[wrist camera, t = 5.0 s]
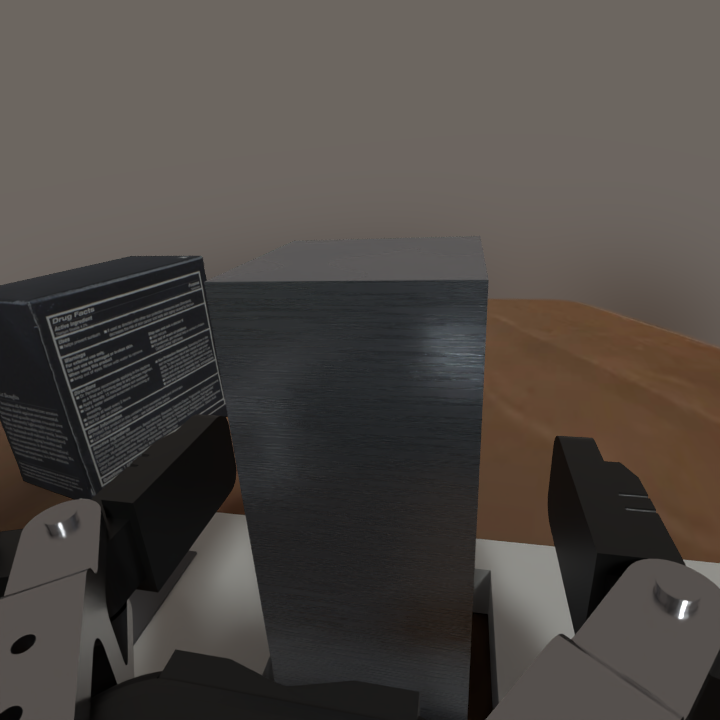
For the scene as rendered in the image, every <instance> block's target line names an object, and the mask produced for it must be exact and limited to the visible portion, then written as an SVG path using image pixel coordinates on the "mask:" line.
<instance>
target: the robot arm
mask: <svg viewBox="0 0 720 720" xmlns="http://www.w3.org/2000/svg"><path fill="white" fill-rule="evenodd" d="M235 480H236V463H235V457H234V452H233V446H232V440H231V435H230V429H229V424H228V421H227V419H226V418H225V417H224V416H217V415H200V414H196V415H193V416H192V417H190V418H189V419H188V420H187V421H186V422H185V423H184V424H183V425H182V426H181V427H180V428H179V429H177V430H176V431H175V432H173V433H171V434H169V435H167V436H165V437H163V438H161V439H160V440H158V441H156V442H154V443H153V444H152V445H151V446H150V447H149V448H148V449H147V450H145V451H144V452H143V453H142V455H141V457H140V456H139V457H138V458H136V459H135V460H134V461H133V462H132V463H131V464H130V467H126V468H125V469H124V470H123V471H122V472H121V473H120V474H119V475H117V476H116V477H115V478H114V479H113V480H112V481H111V482H110V483H108V484H107V485H106V486H105V487H104V488H103V489H102V490H101V491H99V492H98V493H97V494H96V495H95V496H94V497H93V498H92V499H90V500H89V499H77V500H71V501H67V502H63V503H60V504H57V505H55V506H53V507H50V508H48V509H46V510H45V511H43V512H41V513H40V514H38V515H37V516H35V517H34V518H33V519H32V520H31V521H29V523H28V524H27V525H26V526H25V527H24V529H18V530H10V531H3V532H0V720H427V719H425V718H423V717H421V716H420V692H418V691H413V690H407V689H401V688H395V687H390V686H384V685H378V684H372V683H366V682H361V681H355V680H353V681H342V682H331V683H320V684H309V685H298V686H284V685H281V684H278V683H276V682H274V681H272V680H270V679H269V678H267V677H265V676H263V675H261V674H259V673H257V672H255V671H253V670H251V669H249V668H247V667H245V666H243V665H241V664H239V663H237V662H236V661H234V660H232V659H228V658H223V657H217V656H211V655H205V654H199V653H194V652H188V651H182V650H176V649H175V651H174V653H173V654H172V656H171V658H170V659H169V661H168V663H167V664H166V666H165V668H164V669H163V671H158V672H154V673H149V674H145V675H141V676H138V677H135V678H134V650H133V618H132V605H131V602H130V599H129V598H130V596H131V595H132V594H133V592H134V591H135V590H136V589H137V590H144V591H151V592H157V593H158V592H159V591H160V590H161V588H162V587H163V585H164V584H165V583H166V581H167V580H168V578H169V577H170V576H171V574H172V573H173V572H174V570H175V569H176V567H177V566H178V565H179V563H180V562H181V560H182V559H183V558H184V556H185V555H186V553H187V552H188V551H189V549H190V548H191V547H192V545H193V544H194V542H195V541H196V540H197V538H198V537H199V535H200V534H201V533H202V531H203V530H204V528H205V527H206V526H207V524H208V523H209V522H210V520H211V519H212V517H213V516H214V515H215V513H216V512H217V510H218V509H219V508H220V506H221V505H222V504H223V502H224V501H225V499H226V498H227V497H228V495H229V494H230V492H231V491H232V489H233V487H234V484H235ZM548 516H549V523H550V527H551V532H552V536H553V541H554V545H555V549H556V554H557V558H558V563H559V567H560V571H561V576H562V580H563V585H564V589H565V594H566V598H567V602H568V607H569V611H570V616H571V620H572V625H573V629H574V633H575V636H574V637H573V638H572V639H570V638H568V637H567V636H565V635H564V634H558V635H557V636H555V637H554V638H553V639H552V640H551V641H550V642H549V643H548V644H547V645H546V647H545V648H544V649H543V650H542V651H541V653H540V654H539V655H538V656H537V658H536V659H535V660H534V661H533V662H532V664H531V665H530V666H529V667H528V668H527V670H526V671H525V672H524V673H523V675H522V676H521V677H520V678H519V679H518V681H517V682H516V683H515V684H514V686H513V687H512V688H511V689H510V690H509V692H508V693H507V694H506V695H505V696H504V698H503V699H502V700H501V701H500V703H499V704H498V705H497V706H496V707H495V709H494V710H493V711H492V712H491V714H490V715H489V716H488V717H487V718H486V720H720V588H719V587H718V586H717V585H716V584H714V583H713V582H712V581H711V580H710V579H708V578H707V577H705V576H704V575H702V574H701V573H699V572H697V571H695V570H693V569H691V568H689V567H687V566H686V564H685V563H684V561H683V559H682V557H681V555H680V553H679V552H678V550H677V548H676V546H675V544H674V542H673V540H672V539H671V537H670V535H669V533H668V531H667V529H666V527H665V526H664V524H663V522H662V520H661V518H660V516H659V515H658V513H656V509H655V507H654V505H653V503H652V502H651V500H650V499H648V494H647V492H646V491H645V489H644V487H643V485H642V483H641V481H640V479H639V478H638V477H637V476H636V475H635V474H633V473H632V472H631V471H630V470H629V469H627V468H626V467H625V466H624V465H622V464H621V463H620V462H606V461H604V460H603V458H602V456H601V454H600V451H599V449H598V447H597V445H596V443H595V441H594V439H593V438H585V437H567V436H556V438H555V441H554V447H553V455H552V464H551V473H550V482H549V491H548Z"/></svg>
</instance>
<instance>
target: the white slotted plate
mask: <svg viewBox="0 0 720 720" xmlns="http://www.w3.org/2000/svg"><path fill="white" fill-rule="evenodd" d="M89 500H90V499H89ZM683 561H684V563H685V564H686V566H687V567H689V568H691V569H693V570H695V571H697V572H699V573H701V574H702V575H704V576H705V577H707V578H708V579H710V580H711V581H712V582H713V583H714V584H716V585H717V586H718V587H719V588H720V563H710V562H700V561H690V560H683ZM129 599H130V602H131V605H132V618H133V650H134V678H135V677H138V676H141V675H145V674H149V673H154V672H158V671H163V669H164V668H165V666H166V664H167V663H168V661H169V659H170V658H171V656H172V654H173V653H174V651H175V649H176V650H182V651H188V652H194V653H199V654H205V655H211V656H217V657H223V658H228V659H232V660H234V661H236V662H237V663H239V664H241V665H243V666H245V667H247V668H249V669H251V670H253V671H255V672H257V673H259V674H261V675H263V676H265V677H267V678H269V679H270V680H272V681H274V682H275V680H274V674H273V669H272V663H271V657H270V652H269V646H268V640H267V635H266V629H265V623H264V618H263V612H262V606H261V601H260V595H259V589H258V584H257V578H256V572H255V567H254V561H253V555H252V550H251V544H250V538H249V533H248V527H247V521H246V516H245V515H238V514H228V513H218V512H216V513H215V515H214V516H213V517H212V519H211V520H210V522H209V523H208V524H207V526H206V527H205V528H204V530H203V531H202V533H201V534H200V535H199V537H198V538H197V540H196V541H195V542H194V544H193V545H192V547H191V548H190V549H189V551H188V552H187V553H186V555H185V556H184V558H183V559H182V560H181V562H180V563H179V565H178V566H177V567H176V569H175V570H174V572H173V573H172V574H171V576H170V577H169V578H168V580H167V581H166V583H165V584H164V585H163V587H162V588H161V590H160V591H159V592H158V593H157V592H151V591H144V590H137V589H136V590H135V591H134V592H133V594H132V595H131V596H130V598H129ZM473 612H476V613H483V614H488V627H489V647H490V668H491V688H492V709H493V710H494V709H495V707H496V706H497V705H498V704H499V703H500V701H501V700H502V699H503V698H504V696H505V695H506V694H507V693H508V692H509V690H510V689H511V688H512V687H513V686H514V684H515V683H516V682H517V681H518V679H519V678H520V677H521V676H522V675H523V673H524V672H525V671H526V670H527V668H528V667H529V666H530V665H531V664H532V662H533V661H534V660H535V659H536V658H537V656H538V655H539V654H540V653H541V651H542V650H543V649H544V648H545V647H546V645H547V644H548V643H549V642H550V641H551V640H552V639H553V638H554V637H555V636H557V635H558V634H564V635H565V636H567V637H568V638H570V639H572V638H573V637H574V636H575V633H574V629H573V625H572V620H571V616H570V611H569V607H568V602H567V598H566V594H565V589H564V585H563V580H562V576H561V571H560V567H559V563H558V558H557V554H556V549H555V547H552V546H542V545H533V544H523V543H513V542H503V541H493V540H483V539H476V549H475V570H474V591H473Z"/></svg>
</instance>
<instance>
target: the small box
mask: <svg viewBox="0 0 720 720" xmlns="http://www.w3.org/2000/svg"><path fill="white" fill-rule="evenodd" d="M205 281H207V280H206V275H205V270H204V262H203V257H202V256H130V257H126V258H121V259H116V260H112V261H108V262H103V263H99V264H94V265H90V266H85V267H81V268H76V269H72V270H68V271H63V272H59V273H54V274H49V275H45V276H41V277H36V278H32V279H27V280H23V281H18V282H14V283H9V284H5V285H0V420H1V423H2V426H3V428H4V430H5V433H6V436H7V439H8V441H9V443H10V446H11V448H12V451H13V454H14V456H15V459H16V461H17V464H18V466H19V469H20V473H21V475H22V478H23V480H24V481H26V482H28V483H31V484H34V485H36V486H39V487H42V488H44V489H47V490H50V491H53V492H55V493H58V494H61V495H64V496H67V497H70V498H73V499H76V500H77V499H92V498H93V497H94V496H95V495H96V494H97V493H98V492H99V491H101V490H102V489H103V488H104V487H105V486H106V485H107V484H108V483H110V482H111V481H112V480H113V479H114V478H115V477H116V476H117V475H119V474H120V473H121V472H122V471H123V470H124V469H125V468H126V467H130V464H131V463H132V462H133V461H134V460H135V459H136V458H138V457H139V456H140V457H141V455H142V453H143V452H144V451H145V450H147V449H148V448H149V447H150V446H151V445H152V444H153V443H154V442H156V441H158V440H160V439H161V438H163V437H165V436H167V435H169V434H171V433H173V432H175V431H176V430H177V429H179V428H180V427H181V426H182V425H183V424H184V423H185V422H186V421H187V420H188V419H189V418H190V417H192V416H193V415H196V414H200V415H217V416H224V417H226V416H227V415H228V414H227V408H226V403H225V397H224V391H223V386H222V380H221V374H220V369H219V363H218V357H217V352H216V346H215V340H214V335H213V329H212V323H211V318H210V312H209V306H208V301H207V295H206V289H205V284H204V282H205Z"/></svg>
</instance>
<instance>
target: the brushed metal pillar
mask: <svg viewBox="0 0 720 720" xmlns="http://www.w3.org/2000/svg"><path fill="white" fill-rule="evenodd" d="M204 284H205V289H206V295H207V301H208V306H209V312H210V318H211V323H212V329H213V335H214V340H215V346H216V352H217V357H218V363H219V369H220V374H221V380H222V386H223V391H224V397H225V403H226V408H227V414H228V420H229V425H230V431H231V437H232V442H233V448H234V454H235V459H236V465H237V470H238V476H239V482H240V487H241V493H242V499H243V504H244V510H245V516H246V521H247V527H248V533H249V538H250V544H251V550H252V555H253V561H254V567H255V572H256V578H257V584H258V589H259V595H260V601H261V606H262V612H263V618H264V623H265V629H266V635H267V640H268V646H269V652H270V657H271V663H272V669H273V674H274V680H275V682H276V683H278V684H281V685H284V686H298V685H309V684H320V683H331V682H342V681H353V680H355V681H361V682H366V683H372V684H378V685H384V686H390V687H395V688H401V689H407V690H413V691H418V692H420V716H421V717H423V718H425V719H427V720H467V716H468V695H469V674H470V654H471V633H472V612H473V591H474V570H475V549H476V529H477V508H478V487H479V466H480V445H481V424H482V404H483V383H484V362H485V341H486V320H487V299H488V275H487V270H486V264H485V260H484V254H483V249H482V244H481V239H480V236H466V237H429V238H428V237H427V238H393V239H392V238H390V239H351V240H311V241H293V242H291V243H289V244H286V245H285V246H282V247H280V248H278V249H275V250H273V251H271V252H269V253H266V254H264V255H262V256H260V257H258V258H255V259H253V260H251V261H249V262H247V263H244V264H242V265H240V266H238V267H236V268H234V269H232V270H229V271H227V272H225V273H223V274H220V275H218V276H216V277H214V278H212V279H209V280H207V281H205V282H204Z"/></svg>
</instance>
